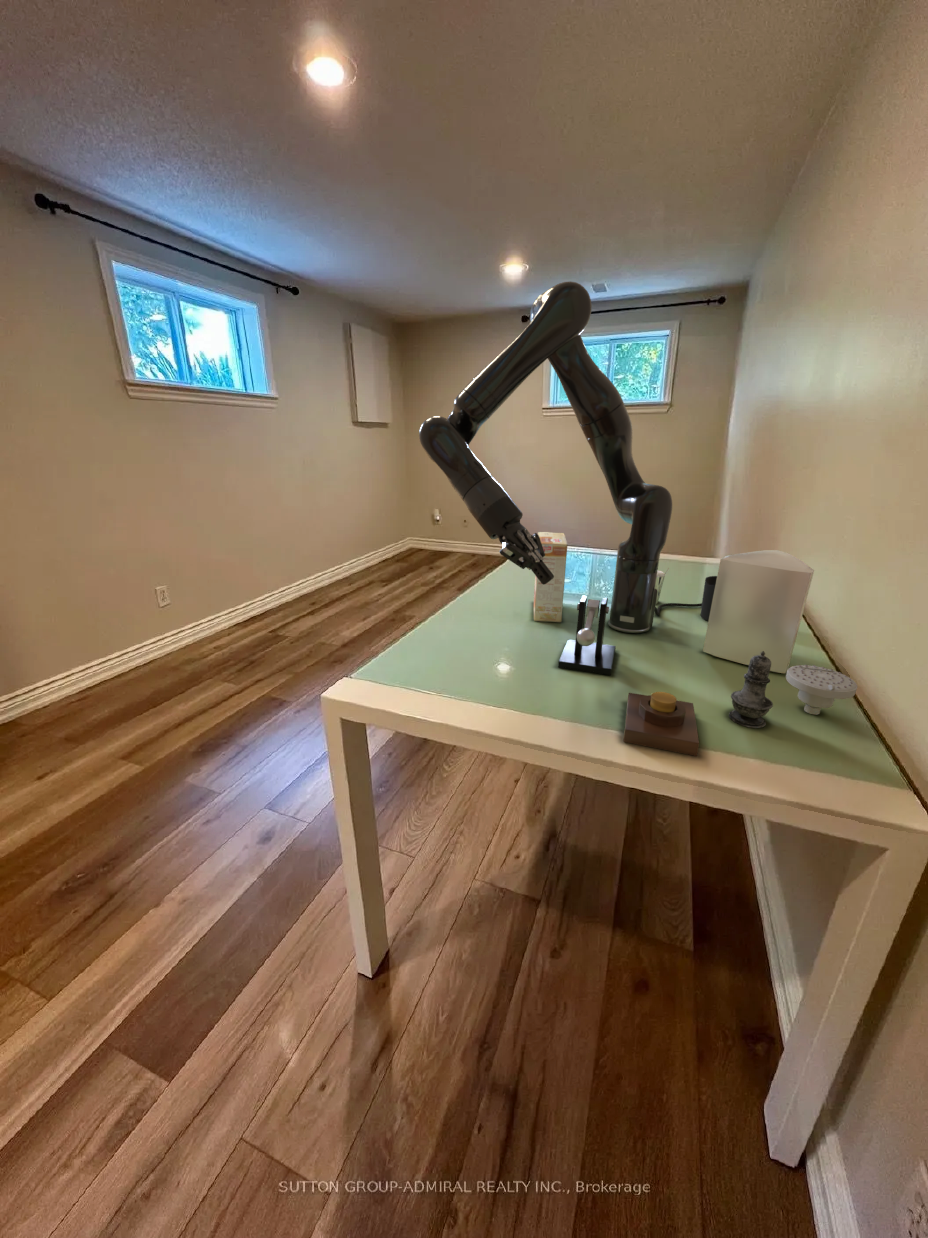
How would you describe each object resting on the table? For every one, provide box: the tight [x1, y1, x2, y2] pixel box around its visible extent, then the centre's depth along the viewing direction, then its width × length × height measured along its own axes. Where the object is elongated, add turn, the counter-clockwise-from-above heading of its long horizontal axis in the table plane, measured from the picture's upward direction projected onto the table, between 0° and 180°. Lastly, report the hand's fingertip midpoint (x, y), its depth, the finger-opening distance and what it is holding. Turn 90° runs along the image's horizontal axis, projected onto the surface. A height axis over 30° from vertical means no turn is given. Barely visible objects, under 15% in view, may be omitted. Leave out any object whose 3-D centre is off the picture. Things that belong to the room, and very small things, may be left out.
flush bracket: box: [557, 595, 616, 676], centre depth 98 cm, size 12×10×13 cm
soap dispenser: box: [702, 549, 815, 675], centre depth 99 cm, size 15×14×22 cm
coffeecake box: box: [533, 531, 568, 623], centre depth 124 cm, size 15×7×20 cm, turn 172°
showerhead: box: [785, 664, 858, 716], centre depth 80 cm, size 9×7×10 cm
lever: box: [577, 598, 601, 646], centre depth 92 cm, size 13×3×3 cm, turn 160°
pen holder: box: [700, 575, 717, 622], centre depth 122 cm, size 9×9×10 cm
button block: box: [622, 692, 700, 757], centre depth 76 cm, size 12×10×4 cm
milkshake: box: [655, 567, 670, 605], centre depth 134 cm, size 4×5×10 cm
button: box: [650, 691, 677, 713], centre depth 75 cm, size 4×4×2 cm
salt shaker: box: [728, 651, 774, 729], centre depth 77 cm, size 6×6×12 cm
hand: (549, 581), depth 90 cm, fingers closed
